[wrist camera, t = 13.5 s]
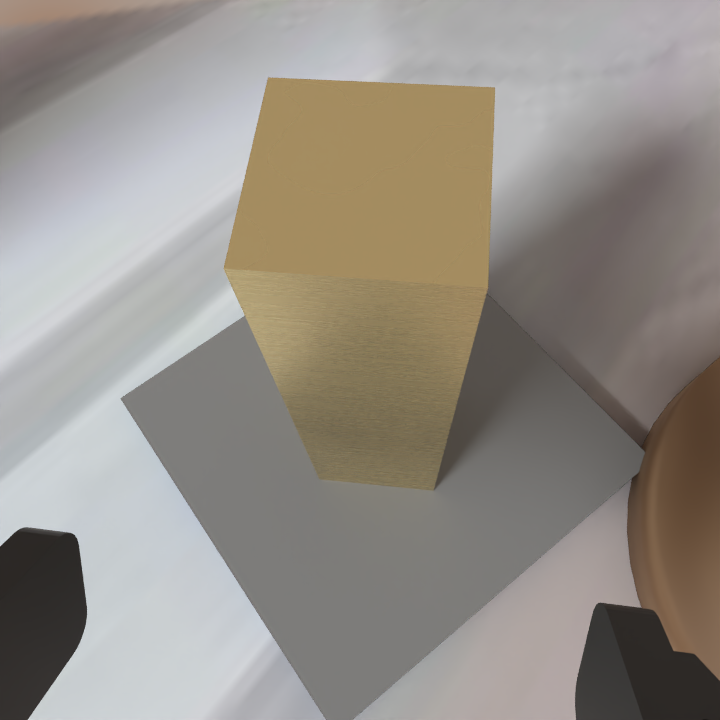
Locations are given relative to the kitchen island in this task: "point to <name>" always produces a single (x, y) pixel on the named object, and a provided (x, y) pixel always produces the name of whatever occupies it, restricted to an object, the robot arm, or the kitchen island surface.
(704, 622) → the copper round socket base
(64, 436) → the kitchen island surface
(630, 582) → the kitchen island surface
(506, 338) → the mat
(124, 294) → the kitchen island surface
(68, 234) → the kitchen island surface
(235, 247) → the brass bar
